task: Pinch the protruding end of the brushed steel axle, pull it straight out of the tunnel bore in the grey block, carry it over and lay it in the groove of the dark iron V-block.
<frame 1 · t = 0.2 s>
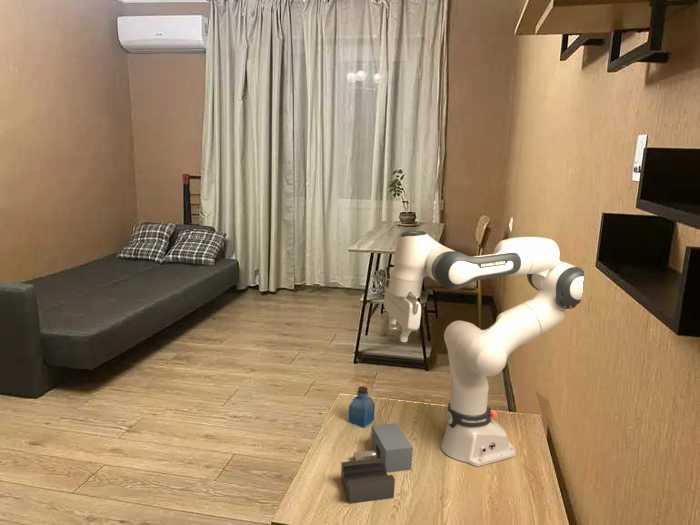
hand: (397, 335, 148), 38 cm above the table, tool pointing down, fingers open, 8 cm apart
v block: (366, 488, 141), on the table
grey block: (390, 457, 156), on the table
perfume bottle: (361, 422, 176), on the table
axle: (374, 459, 155), on the table
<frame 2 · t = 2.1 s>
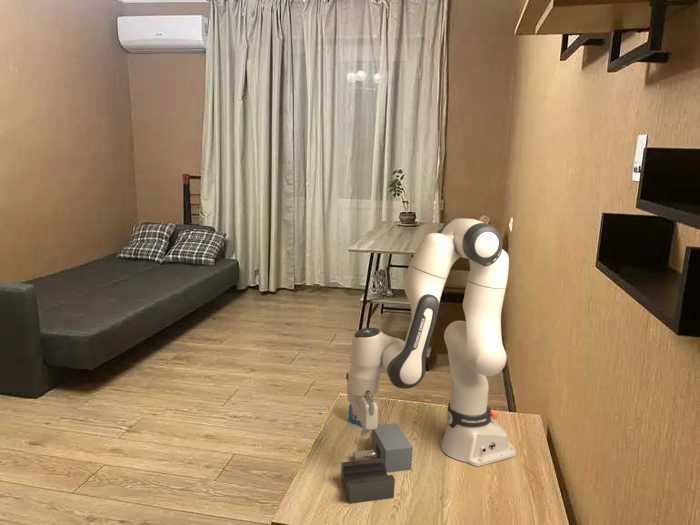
hand: (360, 428, 152), 10 cm above the table, tool pointing down, fingers open, 8 cm apart
axle: (374, 459, 155), on the table, tilted 12°
everything else where it was.
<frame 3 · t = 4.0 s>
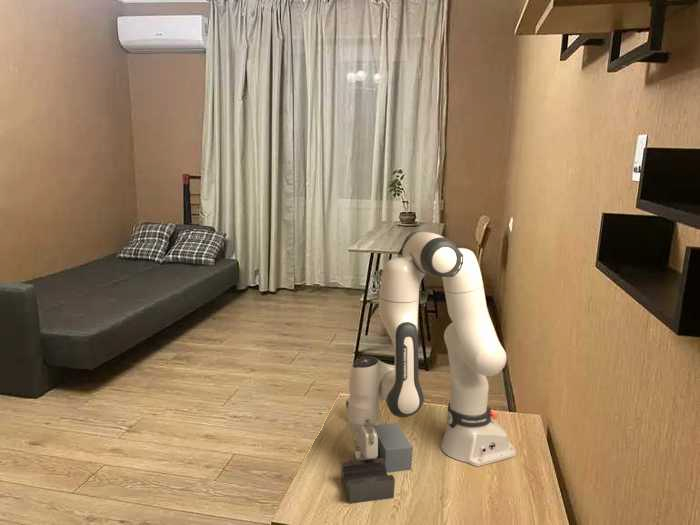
hand: (361, 455, 153), 2 cm above the table, tool pointing down, fingers closed on axle, 3 cm apart
axle: (374, 459, 155), on the table, touching gripper
everything else where it was.
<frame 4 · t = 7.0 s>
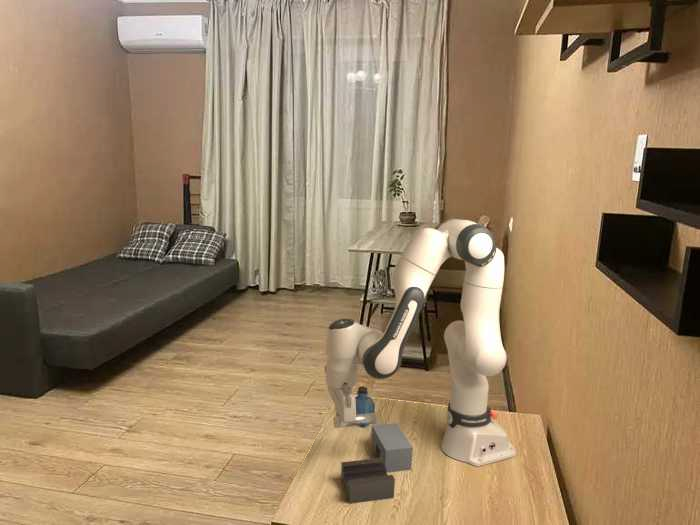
hand: (341, 421, 150), 13 cm above the table, tool pointing down, fingers closed on axle, 3 cm apart
axle: (355, 425, 151), point 12 cm above the table, touching gripper
everything else where it was.
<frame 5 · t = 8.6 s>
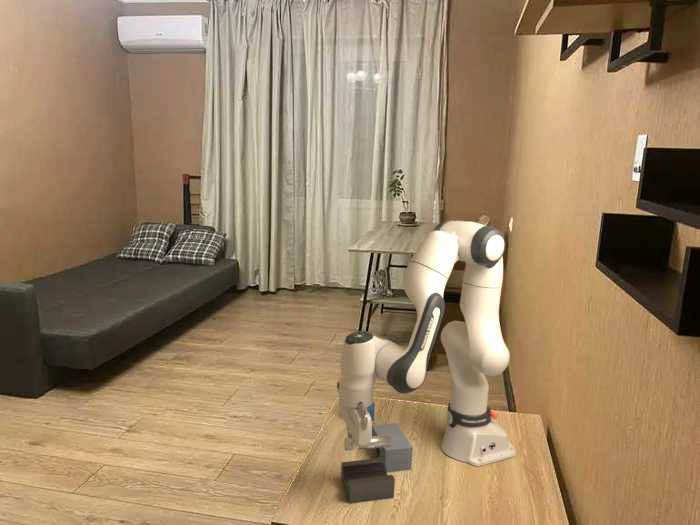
hand: (353, 443, 137), 14 cm above the table, tool pointing down, fingers closed on axle, 3 cm apart
axle: (367, 447, 138), point 12 cm above the table, touching gripper
everything else where it was.
when the fingers open (6 cm above the table, at t = 9.9 s): axle drops 2 cm, resting on v block.
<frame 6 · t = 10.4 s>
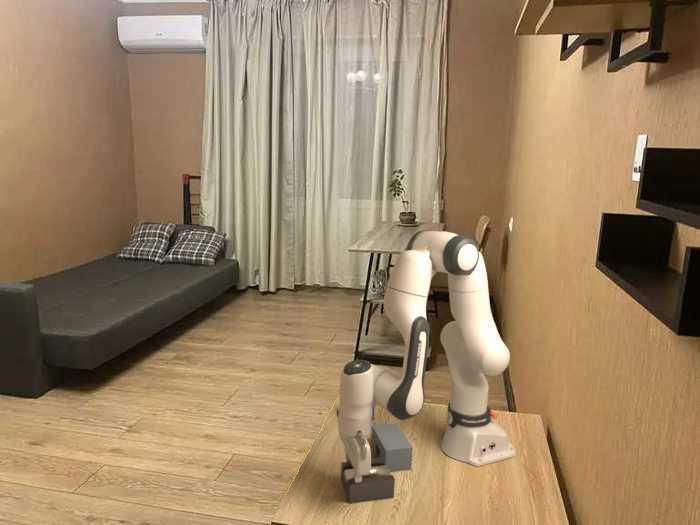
hand: (353, 470, 139), 6 cm above the table, tool pointing down, fingers open, 8 cm apart
axle: (367, 478, 140), point 3 cm above the table, tilted 12°, touching v block
everything else where it was.
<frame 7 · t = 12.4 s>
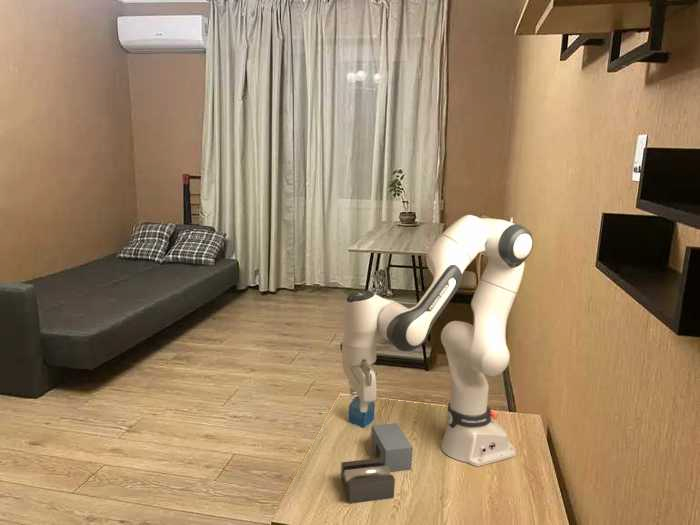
hand: (358, 402, 138), 24 cm above the table, tool pointing down, fingers open, 8 cm apart
axle: (367, 478, 140), point 3 cm above the table, tilted 7°, touching v block
everything else where it was.
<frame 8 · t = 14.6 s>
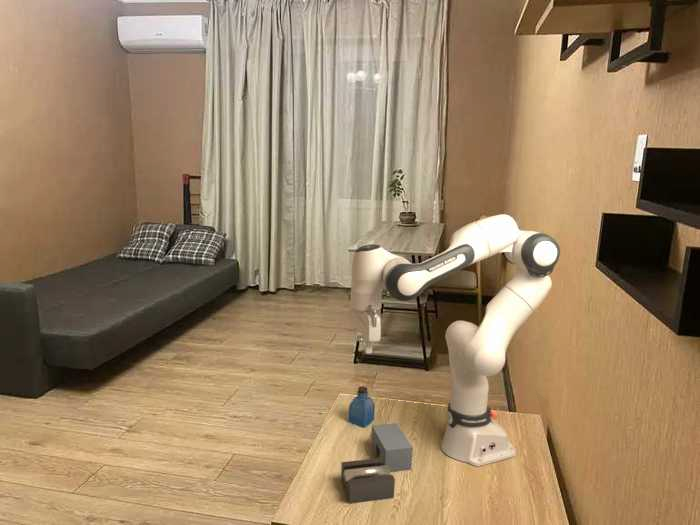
hand: (363, 346, 153), 33 cm above the table, tool pointing down, fingers open, 8 cm apart
nothing on the table moved.
at the end: axle 0.0 cm off-centre on the v block, point 3.0 cm above the v block's base; axle touching v block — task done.
